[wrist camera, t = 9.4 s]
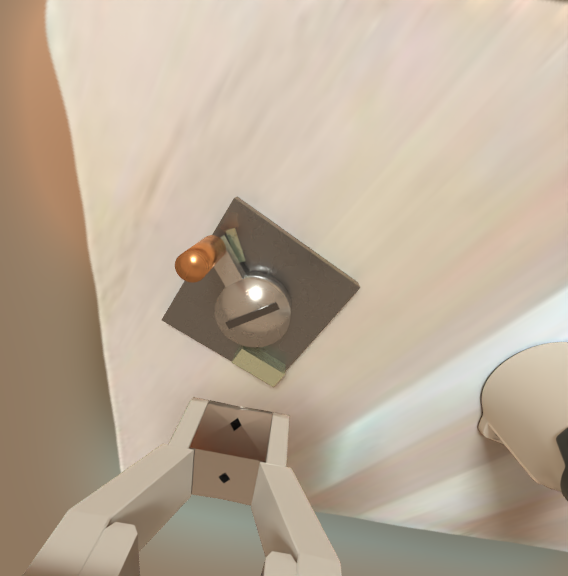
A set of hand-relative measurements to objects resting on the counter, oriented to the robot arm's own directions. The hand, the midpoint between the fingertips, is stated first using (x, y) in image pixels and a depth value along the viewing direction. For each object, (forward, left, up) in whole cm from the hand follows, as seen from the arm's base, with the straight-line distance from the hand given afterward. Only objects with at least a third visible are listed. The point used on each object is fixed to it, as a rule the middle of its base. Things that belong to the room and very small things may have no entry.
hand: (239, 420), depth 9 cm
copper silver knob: (+1, +6, -22) cm, 23 cm away
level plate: (-1, +8, -24) cm, 25 cm away
